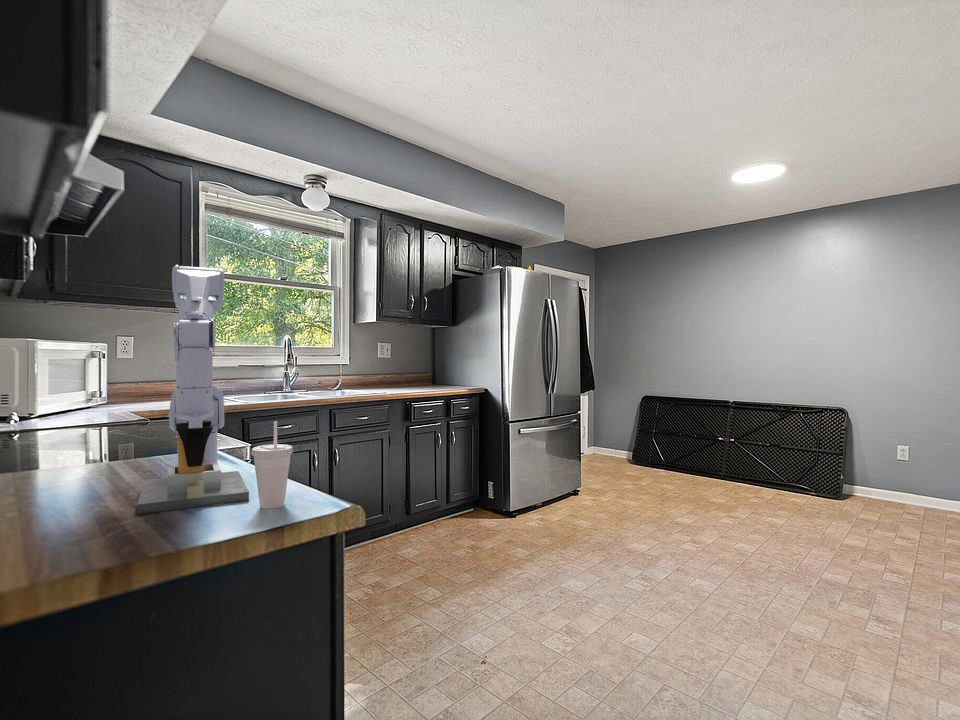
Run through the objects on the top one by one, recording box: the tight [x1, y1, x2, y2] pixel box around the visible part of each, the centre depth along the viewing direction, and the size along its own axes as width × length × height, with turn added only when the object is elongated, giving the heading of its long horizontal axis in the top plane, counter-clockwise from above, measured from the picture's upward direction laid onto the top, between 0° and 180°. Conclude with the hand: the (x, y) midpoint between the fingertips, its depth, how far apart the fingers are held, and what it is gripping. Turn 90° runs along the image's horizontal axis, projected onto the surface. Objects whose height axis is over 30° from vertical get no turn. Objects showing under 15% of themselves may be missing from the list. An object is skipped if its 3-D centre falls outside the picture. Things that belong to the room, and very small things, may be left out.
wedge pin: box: [177, 434, 205, 474], centre depth 94 cm, size 4×4×8 cm
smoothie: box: [251, 420, 294, 510], centre depth 87 cm, size 6×6×14 cm
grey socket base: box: [136, 462, 250, 515], centre depth 94 cm, size 18×16×4 cm
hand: (194, 463), depth 94 cm, fingers closed on wedge pin, 4 cm apart
